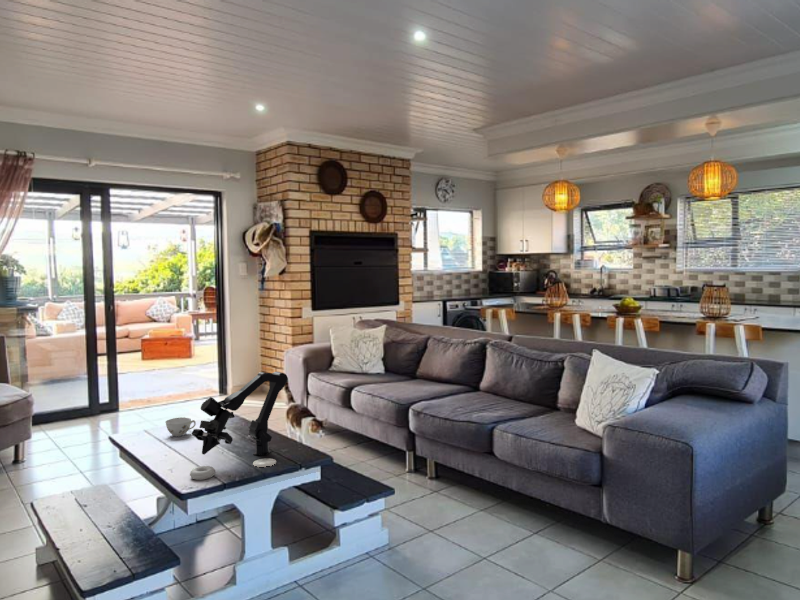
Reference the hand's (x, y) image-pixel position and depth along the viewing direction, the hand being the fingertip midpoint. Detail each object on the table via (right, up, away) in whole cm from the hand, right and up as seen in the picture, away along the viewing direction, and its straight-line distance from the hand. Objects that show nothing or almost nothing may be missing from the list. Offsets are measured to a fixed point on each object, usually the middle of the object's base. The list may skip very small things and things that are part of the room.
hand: (203, 454), depth 248 cm
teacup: (-31, -5, +58) cm, 66 cm away
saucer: (+24, -7, +9) cm, 27 cm away
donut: (0, -6, -2) cm, 6 cm away
